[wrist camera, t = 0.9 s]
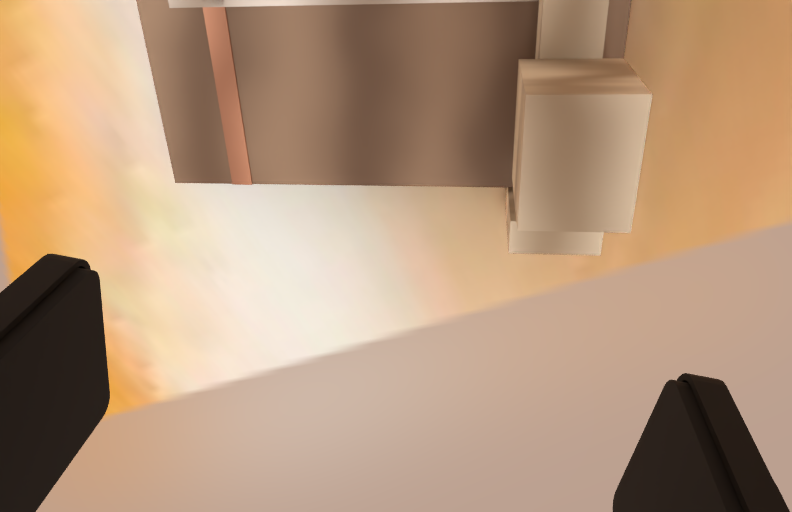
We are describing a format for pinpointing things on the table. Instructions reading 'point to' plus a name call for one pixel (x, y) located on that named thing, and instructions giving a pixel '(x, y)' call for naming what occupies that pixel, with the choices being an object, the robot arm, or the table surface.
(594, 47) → the stacked wooden blocks
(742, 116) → the table surface
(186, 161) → the board
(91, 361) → the robot arm
